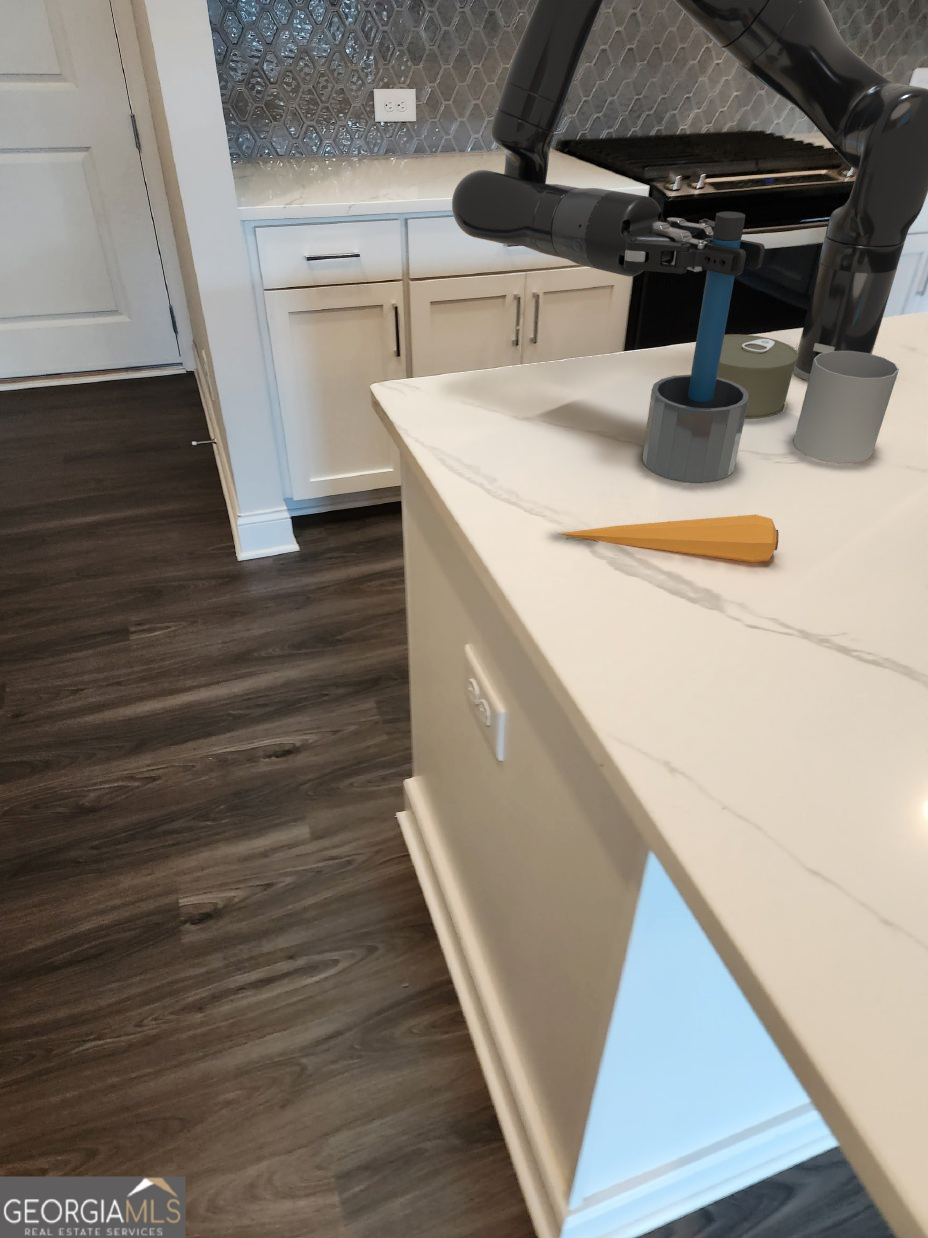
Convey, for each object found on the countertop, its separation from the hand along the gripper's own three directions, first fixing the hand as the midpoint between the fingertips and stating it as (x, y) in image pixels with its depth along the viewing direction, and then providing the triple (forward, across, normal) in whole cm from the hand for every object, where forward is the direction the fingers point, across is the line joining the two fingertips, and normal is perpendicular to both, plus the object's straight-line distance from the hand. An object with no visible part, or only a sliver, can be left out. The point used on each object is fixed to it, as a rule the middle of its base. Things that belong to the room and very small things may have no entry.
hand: (751, 260), depth 76 cm
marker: (-3, 0, +14) cm, 14 cm away
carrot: (+5, -16, +22) cm, 28 cm away
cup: (+6, +15, +22) cm, 27 cm away
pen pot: (-3, 0, +22) cm, 22 cm away
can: (-9, +19, +22) cm, 30 cm away
